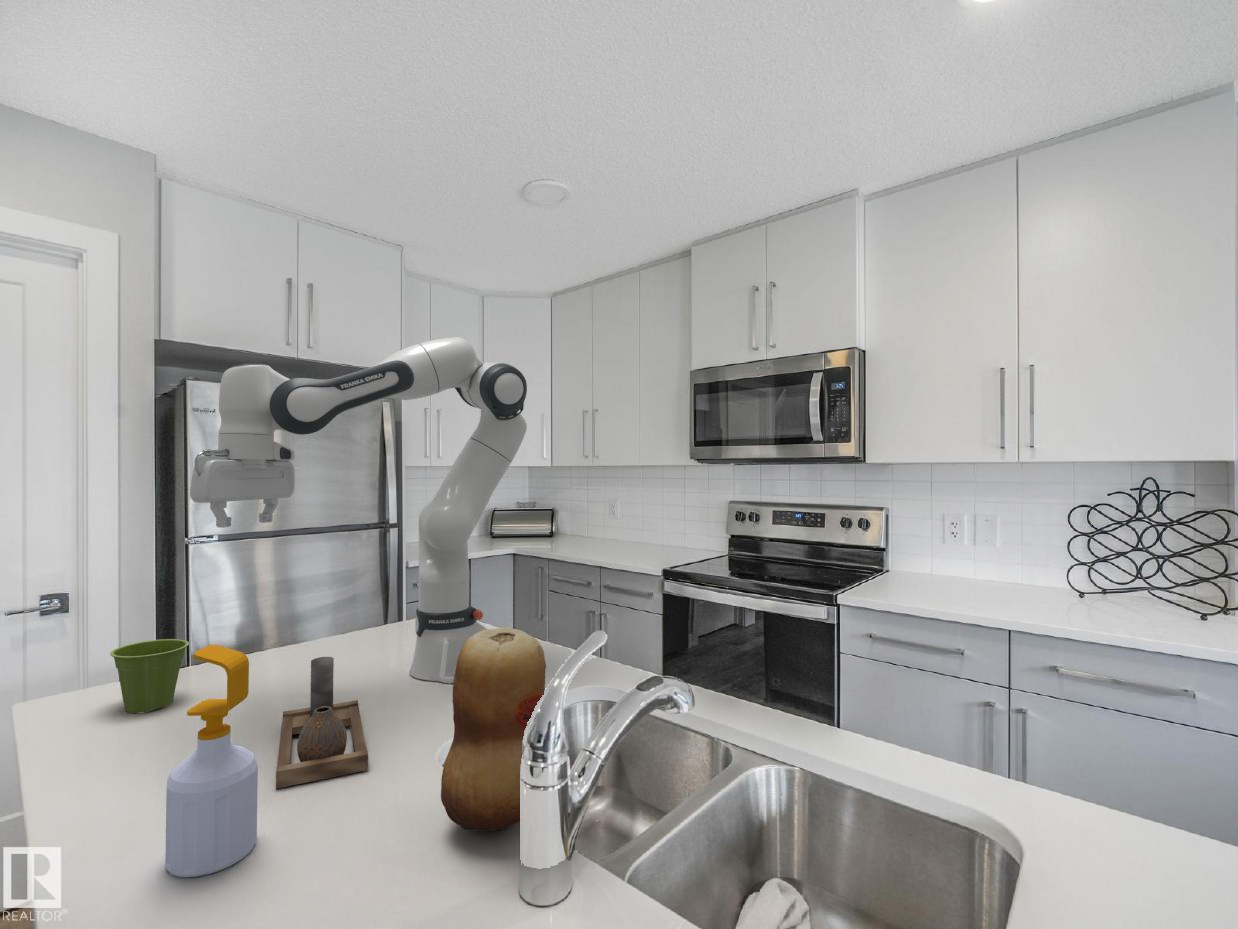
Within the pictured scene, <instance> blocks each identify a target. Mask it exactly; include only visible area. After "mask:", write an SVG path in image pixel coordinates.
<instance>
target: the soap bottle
mask: <svg viewBox="0 0 1238 929" xmlns="http://www.w3.org/2000/svg"><path fill="white" fill-rule="evenodd" d="M192 658H194V659H195V660H199V661H201V662H206V663H209V664H213V665H216V666H219V667H221V668H223V669H224V670H225V672H226V677H227V678H226V680H227V681H226V683H227V684H226V698H209V699H204V700H201V701H200V702H198V703H197V704H195V705H193V706H192V707H191V708H189V709H187V710H186V715H187V716H188V717H196V716H197V717H199V716H200V721H204V722H205V727H202V728H201V729H199V730H198V731H197V747H196V748H197V749H196V751H194V752H193V753H191V754H189V755H188V756H186V757H185V758H183V759H182V761H180V762H179V763H178V764H177V765H176V766H175V767H174V768H173V769H172V770H171V772H170V774H169V776H168V779H167V781H166V789H165V790H166V794H165V795H166V796H165V797H166V798H165V802H166V803H165V810H166V811H165V854H164V855H165V858H164V859H165V860H164V861H165V864H164V865H165V869H166V870H167V872H169V874H171V876H172V875H173V876H176V877H180V878H192V877H193V878H197V877H201V876H206V875H210V874H213V873H214V874H215V873H216V872H219V871H221V870H224V869H226V868H230V867H231V866H232V865H235V864H236V863H238V862H239V861H241V860H243V858H245V857H246V856H247V855H248V854H249V853H251V852H252V850H253V848H254V847H255V845H256V843H257V841H258V839H257V838H258V783H259V782H258V781H259V780H258V776H259V775H258V773H259V764H258V760H257V757H256V756H255V753H254V752H252V751H250V750H249V749H247V748H246V747H243V746H242V745H238V744H237V745H236V744H233V743H232V742H231V730H232V729H231V724H227V723H224V721H223V720H224V718H225V717H227V716H228V715H229V712H230V711H231V710H232V709H234V708H235V707H237V706H238V705H239V704H240V703H241V704H242V702H243V701H245V700H246V699H247V698H248V696H249V684H250V679H249V678H250V673H249V672H250V661H249V658H248V656H247V655H246V654H245V653H244V652H242V651H238V650H235V649H232V648H229V647H224V646H221V645H218V644H209V645H207V646H204V647H203V648H201V649H199V650H196V651H195V652H194V653H193V655H192Z"/></svg>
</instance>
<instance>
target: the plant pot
mask: <svg viewBox="0 0 1238 929" xmlns="http://www.w3.org/2000/svg"><path fill="white" fill-rule="evenodd" d="M189 645H190V642H189V641H188V640H185V639H177V638H165V639H153V640H146V641H140V642H134V643H129V644H126V645H123V646H119V647H117V648H115V649H113V650H111V651H110V653H109V654H110V656H111V657H113V659H114V664H115V668H116V669H117V672H118V674H117V675H118V679H119V684H120V690H121V695H122V696H121V697H122V701H123V707H124V711H126V712H128V713H132V714H139V713H149V712H153V711H155V710H156V709H158V708H162V709H163V708H166V707H168V706H169V705H171V704H172V703H173V702H174V698H175V692H176V687H177V683H178V680H179V679H178V677H179V673H180V668H181V664H182V660H183V659H184V655H185V653H186V652H185V651H186V648H187V647H188V646H189Z"/></svg>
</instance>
